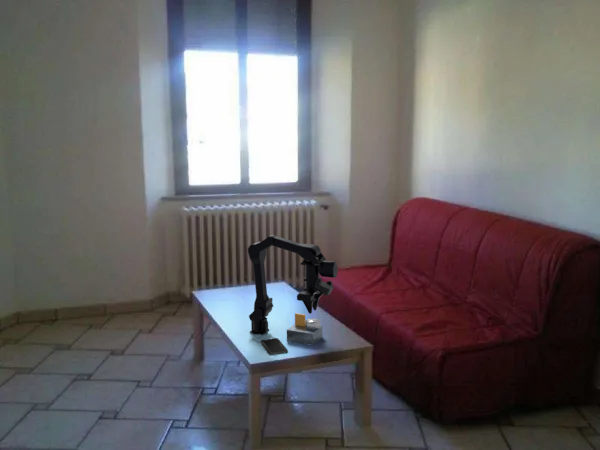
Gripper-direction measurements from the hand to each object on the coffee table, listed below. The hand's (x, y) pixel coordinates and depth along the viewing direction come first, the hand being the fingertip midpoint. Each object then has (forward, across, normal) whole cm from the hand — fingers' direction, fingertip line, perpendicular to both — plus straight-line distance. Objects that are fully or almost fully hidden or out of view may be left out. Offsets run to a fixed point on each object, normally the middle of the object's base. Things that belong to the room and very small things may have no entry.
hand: (312, 311), depth 246 cm
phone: (+13, -14, +11) cm, 22 cm away
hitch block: (+12, -2, +3) cm, 12 cm away
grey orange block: (+7, 0, +6) cm, 9 cm away
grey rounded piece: (+11, 0, 0) cm, 11 cm away
